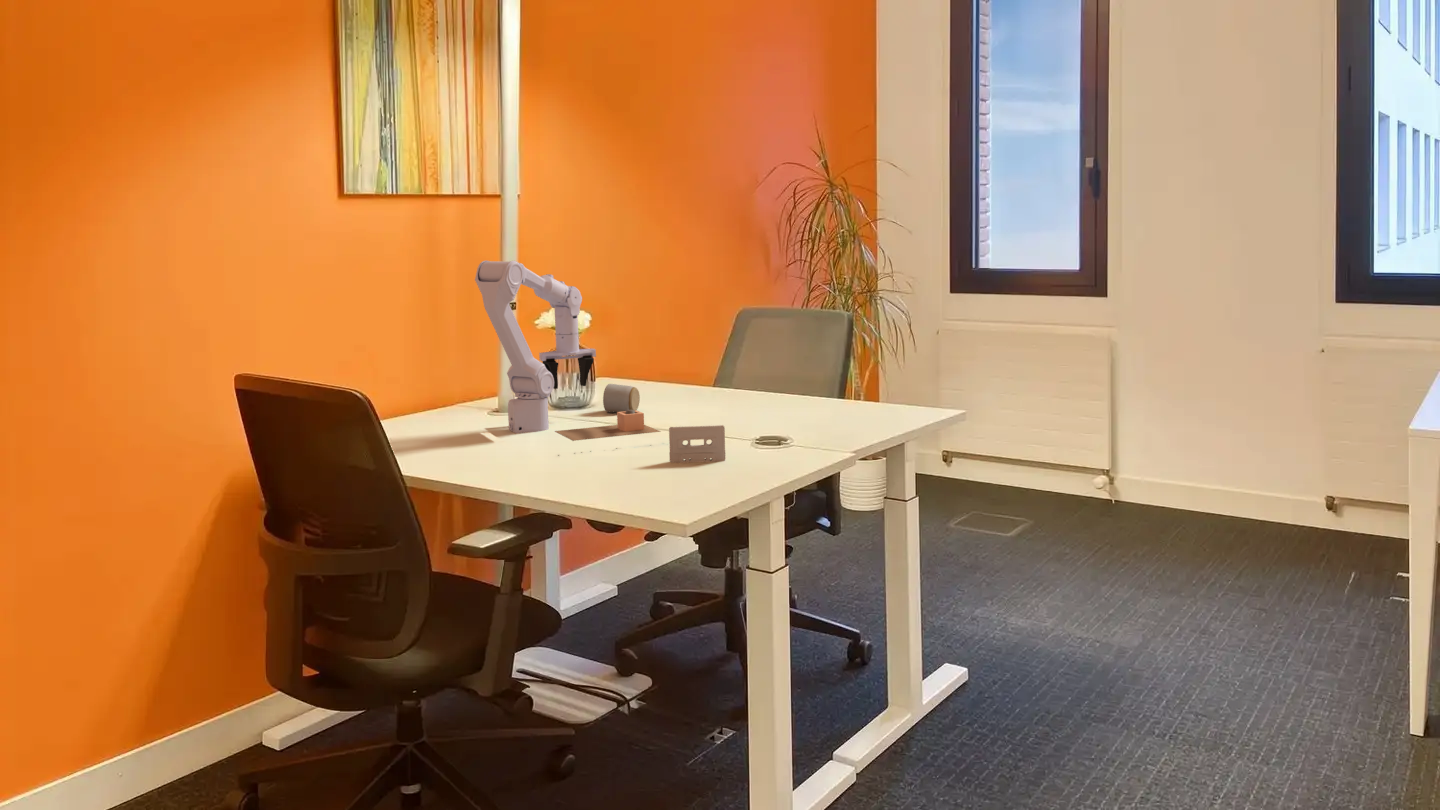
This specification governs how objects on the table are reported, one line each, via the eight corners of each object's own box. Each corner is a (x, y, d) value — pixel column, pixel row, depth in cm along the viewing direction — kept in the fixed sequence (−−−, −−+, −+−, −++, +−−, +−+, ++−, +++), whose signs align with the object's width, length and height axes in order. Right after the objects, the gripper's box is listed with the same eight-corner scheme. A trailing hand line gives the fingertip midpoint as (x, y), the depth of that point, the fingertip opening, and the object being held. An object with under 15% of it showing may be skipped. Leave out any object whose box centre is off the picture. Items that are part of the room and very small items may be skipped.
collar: (624, 431, 295) (624, 415, 295) (617, 428, 300) (617, 412, 299) (644, 429, 298) (643, 413, 297) (636, 426, 302) (636, 410, 301)
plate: (573, 444, 286) (572, 421, 285) (554, 435, 298) (553, 412, 297) (660, 435, 295) (660, 412, 294) (639, 426, 307) (638, 404, 306)
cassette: (669, 463, 263) (668, 428, 262) (669, 461, 265) (668, 426, 264) (725, 461, 264) (725, 426, 263) (725, 459, 266) (724, 424, 265)
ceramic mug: (631, 415, 324) (630, 386, 323) (602, 414, 327) (601, 385, 326) (645, 409, 334) (645, 381, 333) (617, 408, 337) (616, 380, 336)
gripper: (545, 336, 303) (547, 391, 305) (599, 332, 310) (601, 386, 312) (535, 334, 309) (537, 388, 311) (588, 330, 316) (590, 383, 318)
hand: (569, 387), depth 312 cm, fingers open, 7 cm apart
